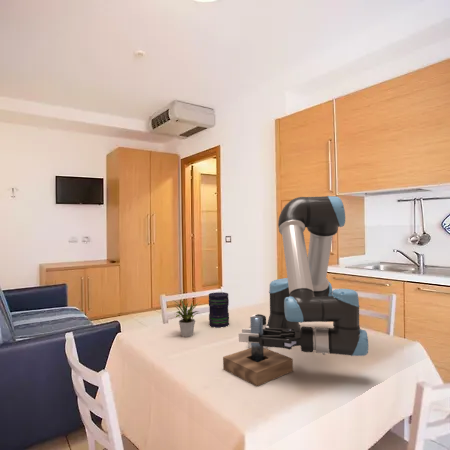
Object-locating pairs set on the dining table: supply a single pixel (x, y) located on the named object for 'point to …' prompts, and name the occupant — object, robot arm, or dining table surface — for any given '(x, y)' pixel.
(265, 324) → the medicine bottle
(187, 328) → the house plant
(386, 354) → the dining table surface
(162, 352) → the dining table surface
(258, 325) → the pin
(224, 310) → the storage jar
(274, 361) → the socket block
